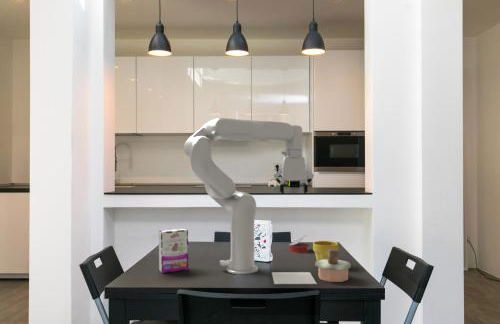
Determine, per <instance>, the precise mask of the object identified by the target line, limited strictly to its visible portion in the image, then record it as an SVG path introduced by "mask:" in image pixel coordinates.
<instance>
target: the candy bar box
mask: <svg viewBox="0 0 500 324" xmlns="http://www.w3.org/2000/svg"><path fill="white" fill-rule="evenodd" d="M158 269H159V272H160V273H161V274H166V273H168V274H169V273H172V272H173V273H175V272H181V271H182V272H183V271H188V270H189V230H188V229H186V228H175V229H165V230H164V229H163V230H158Z"/></svg>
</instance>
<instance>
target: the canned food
mask: <svg viewBox="0 0 500 324" xmlns="http://www.w3.org/2000/svg"><path fill="white" fill-rule="evenodd" d="M305 237H307V234H306V235H304V236H302V237H301V238H298V239H296V240H294V241H292V242H291V243H289V246H288V251H289V252H291V253H299V254H303V253H308V252H309V251H310V244H309V243H302V241H303V240H304V238H305Z"/></svg>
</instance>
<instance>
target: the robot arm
mask: <svg viewBox="0 0 500 324" xmlns="http://www.w3.org/2000/svg"><path fill="white" fill-rule="evenodd" d="M219 140H225V141H227V140H228V141H242V142H255V141H256V142H257V141H267V140H268V141H269V142H271V143H281V142H283V143H284V151H281V155H282V156H284V157H283V158H282V165H281V170H279V171H278V172H276V173H274V174H273V178H274V179H275V181H276V182H277V183H278V184H279V193H281V195H284V193H285V191H284V190H285V189H284V188H285V187H284V183H285V182H286V181H302V182H303V195H306V194H307V193H308V191H309V190H308V185H309V184H310V183H311V181H312V180H313V178H314V176H315V175H314V173H312V172H309V171H308V170H307V167H306V159H305V157H304V156H303V127H302V126H301V125H296V124H295V125H294V124H293V125H291V124H290V123H287V122H282V121H281V122H280V121H273V120H272V121H270V120H269V121H267V120H266V121H265V120H249V119H248V120H247V119H239V118H238V119H237V118H227V117H225V118H224V117H217V118H214V119H211V120H209V121H208V122H206V123H205V124H204V125H202V126H201V128H199V129H198V130H197V131H195V133H193V134H192V135H191V136H190V137H188V139H187V140H185V142H184V145H183V150H184V153H185V155H186V156H187V157H189V158H190V159H189V160H190V166H191V169H192V172H193V173H194V175H195V176H196V177H197V178H198V179H199V180H200V182H201V183H202V184H204V189H205V191H206V193H207V195H208V196H209V197H210V198H211V199H212V200H214V201H215V202H216V203H217V204H218V205H219V206H220V207H221V208H222V209H224V210H225V211H226V212H228V213H229V214H232V216H231V221H230V258H229V259H227V260H221V259H220V260H219V266H222V267H226V271H227V272H228V273H230V274H234V275H236V274H237V275H247V274H254V273H256V272H258V271H259V267H258V266H257V265H255V219H256V218H255V217H256V212H257V202H256V199H255V198H254V196H253V195H252V194H250V193H249V192H246V191H245V192H244V191H238V190H237V189H236V188H237V187H236V183H235V182H234V180H233V179H232V178H231V177H230V176H228V175H227V174H226V173H225V172H224V171H223V170H222V169H221V168H220V167H219V166H217V164H216V163H215V162H214V160H213V158H212V151H213V149H212V148H213V145H214V144H215V143H216V142H217V141H219ZM279 176H281V180H280V179H279ZM307 176H309V177H308V179H307ZM306 179H307V180H306Z"/></svg>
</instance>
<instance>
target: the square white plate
mask: <svg viewBox="0 0 500 324" xmlns="http://www.w3.org/2000/svg"><path fill="white" fill-rule="evenodd" d="M271 276H272V279H273V284H274V285H305V284H306V285H317V284H318V283H317V282H316V280H315V278H314V276H312V273H311V272H309V271H308V272H307V271H305V272H304V271H299V272H298V271H297V272H294V271H293V272H291V271H290V272H289V271H288V272H285V271H283V272H282V271H281V272H279V271H278V272H276V271H275V272H274V271H273V272H271Z"/></svg>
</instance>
